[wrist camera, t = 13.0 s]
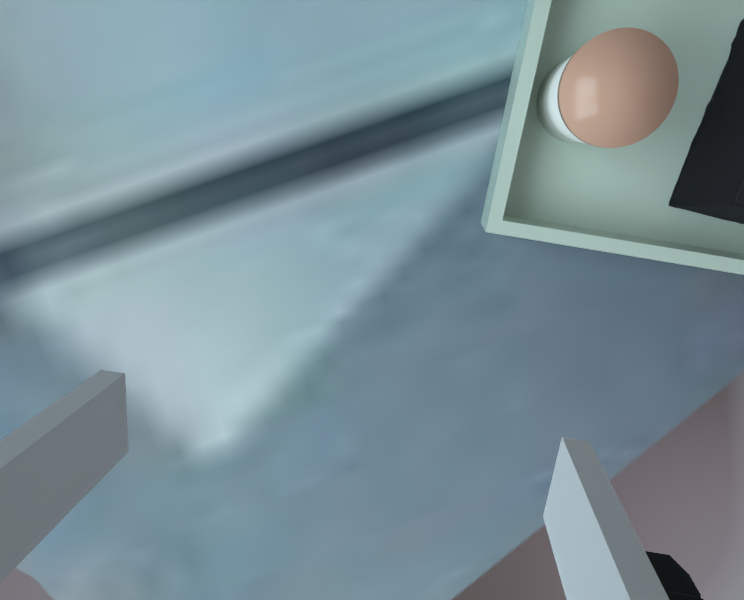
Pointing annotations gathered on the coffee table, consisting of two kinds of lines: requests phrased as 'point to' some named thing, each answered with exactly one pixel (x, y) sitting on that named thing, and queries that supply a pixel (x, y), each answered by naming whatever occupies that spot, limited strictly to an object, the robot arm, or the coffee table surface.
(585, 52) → the jar
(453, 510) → the coffee table surface
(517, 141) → the tote
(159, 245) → the coffee table surface
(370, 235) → the coffee table surface
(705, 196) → the sculpture
